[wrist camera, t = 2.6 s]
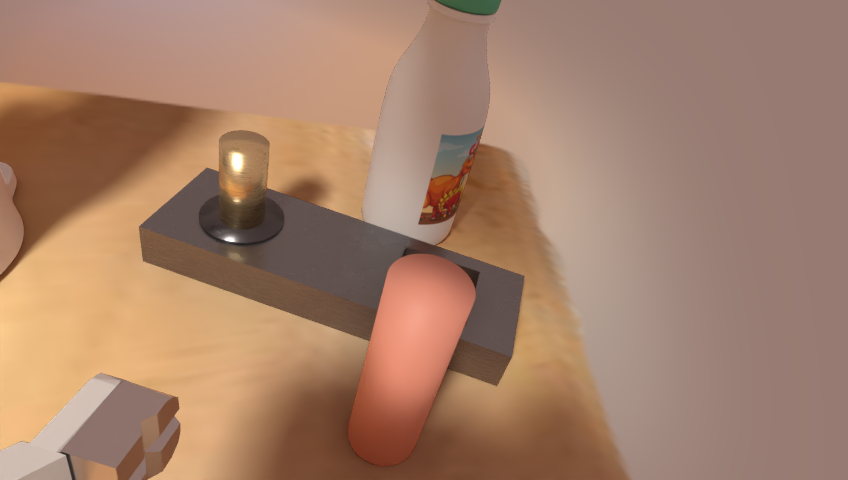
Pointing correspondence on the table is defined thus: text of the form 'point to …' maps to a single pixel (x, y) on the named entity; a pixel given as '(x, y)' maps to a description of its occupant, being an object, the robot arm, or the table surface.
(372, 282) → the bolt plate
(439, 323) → the red peg
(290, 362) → the table surface
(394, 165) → the milk bottle
